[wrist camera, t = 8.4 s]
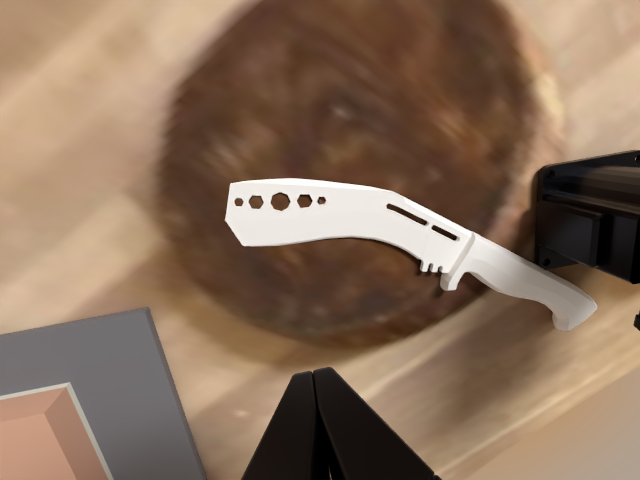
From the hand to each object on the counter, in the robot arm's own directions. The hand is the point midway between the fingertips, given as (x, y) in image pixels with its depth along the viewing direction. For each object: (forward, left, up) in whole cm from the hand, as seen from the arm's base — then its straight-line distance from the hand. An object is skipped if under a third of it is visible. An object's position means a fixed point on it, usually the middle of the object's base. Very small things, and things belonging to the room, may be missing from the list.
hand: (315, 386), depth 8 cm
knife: (-4, +2, -14) cm, 15 cm away
